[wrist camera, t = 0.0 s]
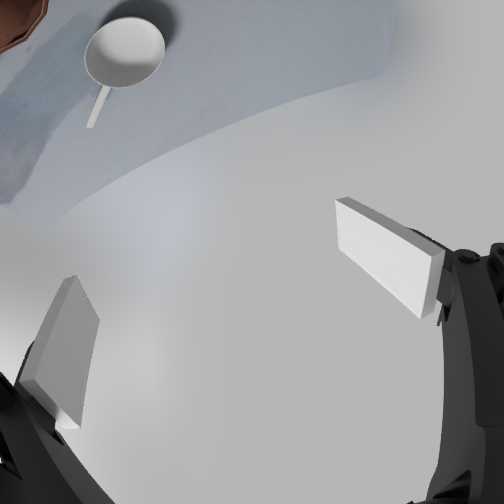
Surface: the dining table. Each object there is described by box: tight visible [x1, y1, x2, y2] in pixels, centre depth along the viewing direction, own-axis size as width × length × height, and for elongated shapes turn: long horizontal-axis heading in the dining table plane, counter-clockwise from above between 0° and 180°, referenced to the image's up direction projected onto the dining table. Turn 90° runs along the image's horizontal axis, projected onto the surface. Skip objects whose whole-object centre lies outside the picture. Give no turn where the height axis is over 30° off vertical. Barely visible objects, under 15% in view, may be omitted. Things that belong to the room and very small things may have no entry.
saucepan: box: [85, 16, 165, 128], centre depth 31 cm, size 11×18×4 cm, turn 140°
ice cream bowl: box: [0, 0, 49, 54], centre depth 12 cm, size 11×11×15 cm
